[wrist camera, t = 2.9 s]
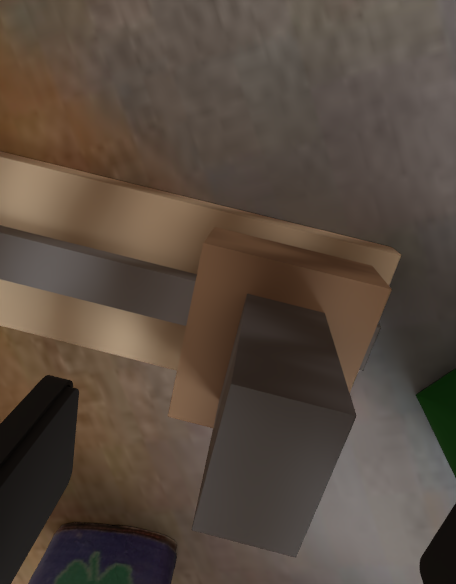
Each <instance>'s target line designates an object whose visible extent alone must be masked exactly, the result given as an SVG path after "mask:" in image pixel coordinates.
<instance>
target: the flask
mask: <svg viewBox="0 0 456 584" xmlns="http://www.w3.org/2000/svg"><path fill="white" fill-rule="evenodd" d="M176 548H177V544H176V543H175V541H174V540H172V539H170V538H169V537H168V536H164V535H162V534H159V533H156V532H151V531H147V530H144V529H137V528H135V527H129V526H120V525H119V526H111V525H108V524H95V523H94V524H92V523H91V524H90V523H87V524H86V523H80V522H75V523H71V524H65V525H62V526H61V527H60V528H59V529H58V530H57V531H56V533H55V534H54V536H53V538H52V540H51V542H50V544H49V546H48V548H47V550H46V552H45V554H44V556H43V557H42V559H41V561H40V563H39V564H38V567H37V568H36V570H35V572H34V574H33V575H32V577H31V579H30V581H29V583H28V584H171V581H172V576H173V570H174V568H175V563H176V558H177V556H176V554H177V553H176Z"/></svg>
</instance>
